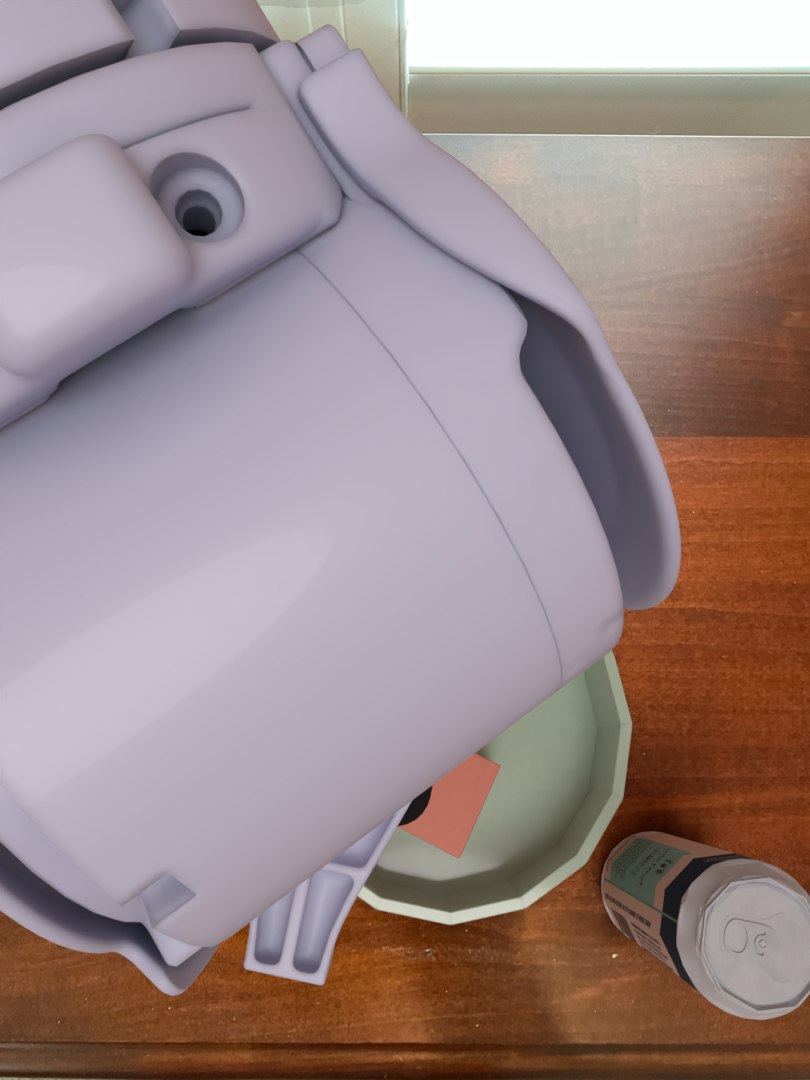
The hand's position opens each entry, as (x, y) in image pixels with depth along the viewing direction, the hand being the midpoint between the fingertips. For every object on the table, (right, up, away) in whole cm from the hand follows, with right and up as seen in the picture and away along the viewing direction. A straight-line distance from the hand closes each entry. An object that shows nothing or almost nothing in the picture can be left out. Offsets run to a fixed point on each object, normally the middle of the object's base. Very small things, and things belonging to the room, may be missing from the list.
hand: (361, 700), depth 31 cm
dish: (+3, -3, +9) cm, 10 cm away
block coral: (+3, -5, +7) cm, 9 cm away
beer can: (+13, -10, +7) cm, 17 cm away
